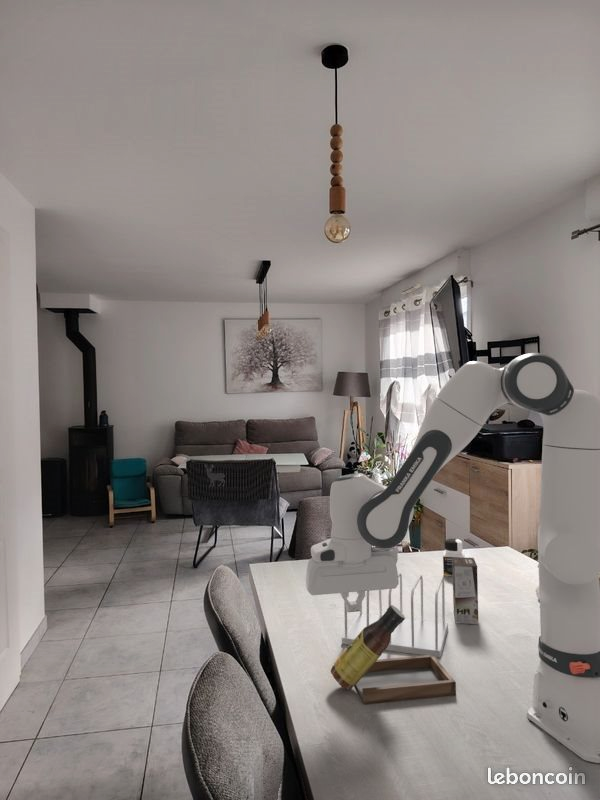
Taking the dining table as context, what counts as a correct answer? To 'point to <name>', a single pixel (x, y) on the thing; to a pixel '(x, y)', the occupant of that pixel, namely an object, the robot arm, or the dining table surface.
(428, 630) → the file sorter
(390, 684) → the wooden tray
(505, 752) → the dining table surface
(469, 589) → the coffee box
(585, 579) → the robot arm
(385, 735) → the dining table surface
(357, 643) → the sauce bottle
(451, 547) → the white plastic bottle
